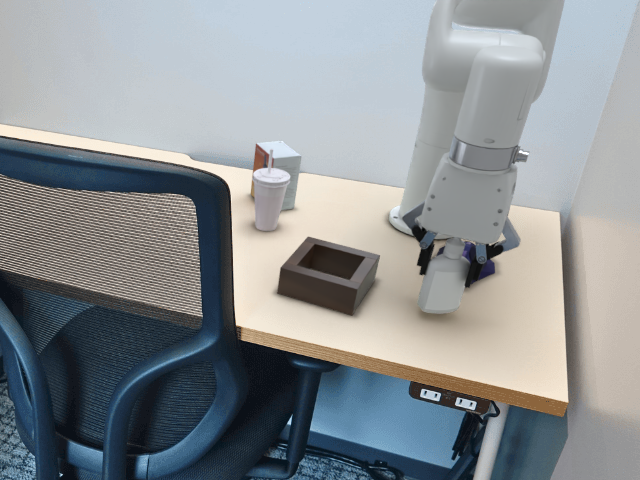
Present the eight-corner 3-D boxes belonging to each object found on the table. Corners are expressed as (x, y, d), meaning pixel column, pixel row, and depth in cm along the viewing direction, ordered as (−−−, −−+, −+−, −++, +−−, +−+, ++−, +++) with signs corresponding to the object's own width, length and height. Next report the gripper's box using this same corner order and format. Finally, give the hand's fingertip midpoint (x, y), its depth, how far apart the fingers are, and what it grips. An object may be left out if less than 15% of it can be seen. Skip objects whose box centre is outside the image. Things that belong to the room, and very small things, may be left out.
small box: (249, 195, 133) (254, 142, 127) (276, 192, 135) (282, 139, 129) (267, 212, 127) (273, 158, 121) (294, 209, 129) (302, 154, 123)
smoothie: (260, 214, 126) (268, 140, 118) (290, 225, 123) (301, 149, 115) (240, 227, 122) (247, 150, 114) (271, 238, 119) (281, 160, 111)
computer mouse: (501, 256, 115) (508, 235, 112) (485, 297, 104) (493, 274, 102) (443, 242, 118) (449, 221, 116) (422, 280, 108) (428, 258, 106)
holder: (304, 260, 113) (307, 236, 110) (374, 280, 108) (380, 254, 105) (276, 293, 104) (280, 267, 102) (352, 315, 100) (357, 289, 97)
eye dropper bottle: (456, 320, 97) (480, 244, 90) (415, 310, 99) (435, 235, 92) (458, 304, 100) (481, 230, 94) (418, 295, 102) (438, 222, 95)
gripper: (559, 156, 86) (515, 282, 96) (419, 131, 93) (391, 250, 103) (554, 177, 80) (507, 307, 91) (405, 148, 87) (377, 272, 98)
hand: (446, 275), depth 97 cm, fingers closed on eye dropper bottle, 5 cm apart
